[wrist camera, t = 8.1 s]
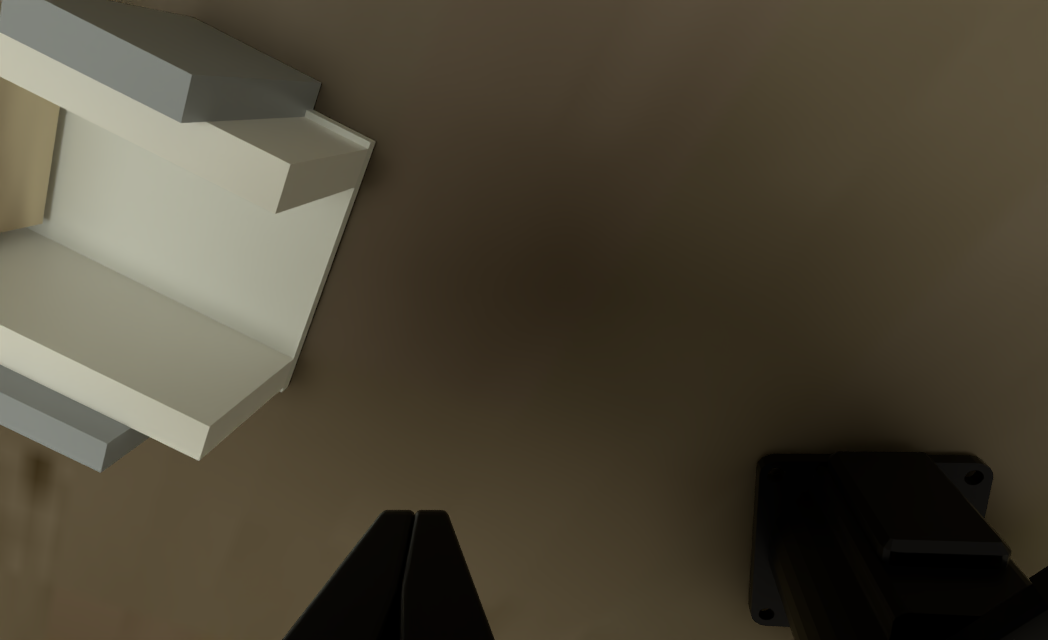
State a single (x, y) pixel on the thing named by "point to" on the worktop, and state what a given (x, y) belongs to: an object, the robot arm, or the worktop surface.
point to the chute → (163, 229)
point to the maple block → (24, 155)
